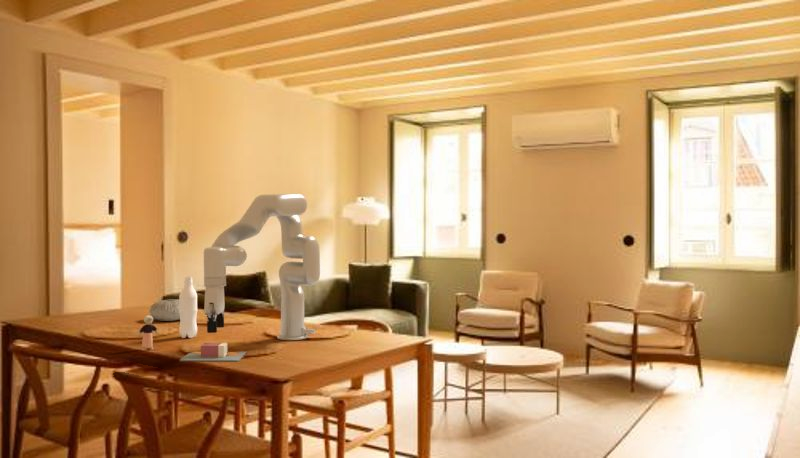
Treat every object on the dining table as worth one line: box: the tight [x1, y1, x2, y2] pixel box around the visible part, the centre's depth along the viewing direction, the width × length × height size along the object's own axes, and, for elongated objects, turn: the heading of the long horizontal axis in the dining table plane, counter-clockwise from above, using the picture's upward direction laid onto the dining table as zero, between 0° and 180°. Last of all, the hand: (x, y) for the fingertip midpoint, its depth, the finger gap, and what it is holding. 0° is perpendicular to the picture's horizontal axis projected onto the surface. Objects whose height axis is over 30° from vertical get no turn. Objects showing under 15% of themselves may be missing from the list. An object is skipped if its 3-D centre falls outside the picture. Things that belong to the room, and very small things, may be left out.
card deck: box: [200, 342, 228, 357], centre depth 228 cm, size 5×8×4 cm, turn 91°
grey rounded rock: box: [149, 298, 180, 322], centre depth 310 cm, size 18×18×10 cm
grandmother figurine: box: [137, 314, 159, 351], centre depth 241 cm, size 8×4×13 cm, turn 148°
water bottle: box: [178, 276, 198, 339], centre depth 266 cm, size 7×7×25 cm
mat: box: [179, 351, 247, 363], centre depth 228 cm, size 20×14×1 cm
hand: (215, 329), depth 229 cm, fingers open, 9 cm apart
